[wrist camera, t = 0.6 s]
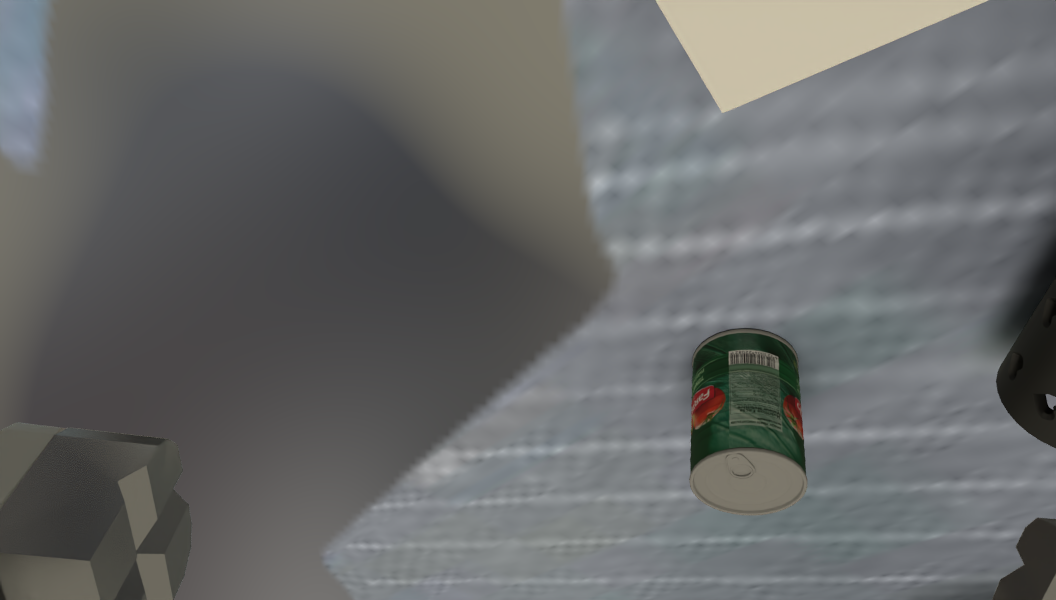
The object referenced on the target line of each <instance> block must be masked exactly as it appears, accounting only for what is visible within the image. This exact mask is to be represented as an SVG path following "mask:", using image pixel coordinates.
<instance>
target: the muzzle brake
mask: <svg viewBox="0 0 1056 600" xmlns="http://www.w3.org/2000/svg"><path fill="white" fill-rule="evenodd" d="M996 383H997V390H998V394H999V396H1000V399H1001V402H1002V403H1003V405H1004V406H1005V408H1006V410H1007V411H1008V413H1009V414H1010V415H1011V416H1012V418H1013V419H1014V420H1015V421H1016V422H1017V423H1018V424H1019V425H1020V426H1021V427H1022V428H1023V429H1025V430H1026V431H1027V432H1028V433H1030V434H1031V435H1033V436H1034V437H1036V438H1037V439H1039V440H1040V441H1042V442H1044V443H1046V444H1048V445H1050V446H1052V447H1054V448H1056V406H1054V407H1053V409H1054V410H1052V409H1050V408H1049V407H1048V404H1047V400H1046V394H1050V395H1053V396H1055V397H1056V277H1055V279H1054V281H1053V282H1052V284H1051V286H1050V287H1049V289H1048V290H1047V292H1046V294H1045V295H1044V297H1043V298H1042V300H1041V302H1040V303H1039V305H1038V306H1037V308H1036V310H1035V311H1034V313H1033V314H1032V316H1031V318H1030V319H1029V321H1028V322H1027V324H1026V326H1025V327H1024V329H1023V330H1022V332H1021V334H1020V335H1019V337H1018V338H1017V340H1016V342H1015V343H1014V345H1013V346H1012V348H1011V350H1010V351H1009V353H1008V355H1007V356H1006V358H1005V359H1004V361H1003V363H1002V364H1001V366H1000V368H999V370H998V374H997V379H996Z"/></svg>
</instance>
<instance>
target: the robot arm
mask: <svg viewBox="0 0 1056 600" xmlns="http://www.w3.org/2000/svg"><path fill="white" fill-rule="evenodd" d="M182 471H183V468H182V464H181V459H180V455H179V450H178V445H177V444H176V443H174V442H172V441H171V440H169V439H164V438H156V437H147V436H139V435H130V434H121V433H112V432H104V431H95V430H86V429H78V428H67V429H65V428H58V427H50V426H41V425H33V424H24V423H15V424H13V425H11V426H9V427H7V428H4V429H3V430H1V431H0V600H174V598H175V596H176V593H177V591H178V589H179V587H180V584H181V582H182V580H183V578H184V575H185V570H186V566H187V562H188V557H189V553H190V549H191V531H192V522H191V516H190V509H189V504H188V503H187V502H185V500H184V499H182V497H181V496H180V495H179V494H177V492H176V491H175V490H174V486H175V485H176V483H177V481H178V479H179V477H180V475H181V473H182ZM1016 548H1017V550H1018V552H1019V555H1020V557H1021V559H1022V561H1023V563H1024V565H1023V566H1021V567H1020V568H1018V569H1016V570H1015V571H1013V572H1012V573H1010V574H1008V575H1007V576H1005V577H1004V578H1002V579H1001V580H1000V582H999V584H998V587H997V589H996V591H995V594H994V596H993V599H992V600H1056V519H1048V518H1036V519H1035V520H1034V521H1033V522H1031V523H1030V524H1029V525H1028V526H1027V527H1025V529H1024V531H1023V533H1022V535H1021V537H1020V539H1019V541H1018V543H1017V545H1016Z"/></svg>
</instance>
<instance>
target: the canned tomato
mask: <svg viewBox="0 0 1056 600" xmlns="http://www.w3.org/2000/svg"><path fill="white" fill-rule="evenodd" d="M692 367H693V376H692V405H691V406H692V413H691V416H692V421H691V426H692V427H691V458H690V462H691V474H690V479H689V480H690V487H691V489H692V491H693V493H694V494H695V496H696V497H697V498H698V499H699V500H701V501H702V502H703V503H705V504H706V505H708V506H710V507H712V508H714V509H717V510H720V511H723V512H727V513H732V514H739V515H763V514H769V513H774V512H778V511H781V510H784V509H786V508H788V507H790V506H792V505H794V504H795V503H796V502H798V501H799V500H800V499H801V498H802V497H803V495H804V494H805V492H806V489H807V477H806V468H805V449H804V439H803V428H802V412H801V401H800V386H799V374H798V358H797V354H796V352H795V350H794V349H793V347H792V346H791V345H790V344H789V343H788V342H787V341H785V340H784V339H782V338H781V337H779V336H777V335H774V334H772V333H769V332H766V331H761V330H755V329H735V330H729V331H725V332H722V333H719V334H716V335H714V336H712V337H710V338H708V339H707V340H706V341H704V342H703V343H702V344H701V345H700V346H699V347H698V348H697V349H696V351H695V353H694V355H693V360H692Z"/></svg>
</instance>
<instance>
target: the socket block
mask: <svg viewBox="0 0 1056 600" xmlns="http://www.w3.org/2000/svg"><path fill="white" fill-rule="evenodd" d="M986 1H988V0H656V2H657V4H658V5H659V7H660V9H661V10H662V12H663V14H664V15H665V17H666V19H667V21H668V22H669V24H670V26H671V27H672V29H673V31H674V32H675V34H676V36H677V37H678V39H679V41H680V42H681V44H682V46H683V47H684V49H685V51H686V53H687V54H688V56H689V58H690V59H691V61H692V63H693V64H694V66H695V68H696V69H697V71H698V73H699V74H700V76H701V78H702V79H703V81H704V83H705V85H706V86H707V88H708V90H709V91H710V93H711V95H712V96H713V98H714V100H715V101H716V103H717V105H718V106H719V108H720V110H721V111H722V113H724V112H727V111H729V110H731V109H734V108H736V107H739V106H741V105H743V104H746V103H748V102H750V101H753V100H755V99H757V98H760V97H762V96H764V95H767V94H769V93H771V92H774V91H776V90H779V89H781V88H783V87H786V86H788V85H790V84H793V83H795V82H797V81H800V80H802V79H804V78H807V77H809V76H811V75H814V74H816V73H819V72H821V71H823V70H826V69H828V68H830V67H833V66H835V65H837V64H840V63H842V62H844V61H847V60H849V59H852V58H854V57H856V56H859V55H861V54H863V53H866V52H868V51H870V50H873V49H875V48H877V47H880V46H882V45H884V44H887V43H889V42H892V41H894V40H896V39H899V38H901V37H903V36H906V35H908V34H910V33H913V32H915V31H917V30H920V29H922V28H924V27H927V26H929V25H932V24H934V23H936V22H939V21H941V20H943V19H946V18H948V17H950V16H953V15H955V14H957V13H960V12H962V11H965V10H967V9H969V8H972V7H974V6H976V5H979V4H981V3H983V2H986Z"/></svg>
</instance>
